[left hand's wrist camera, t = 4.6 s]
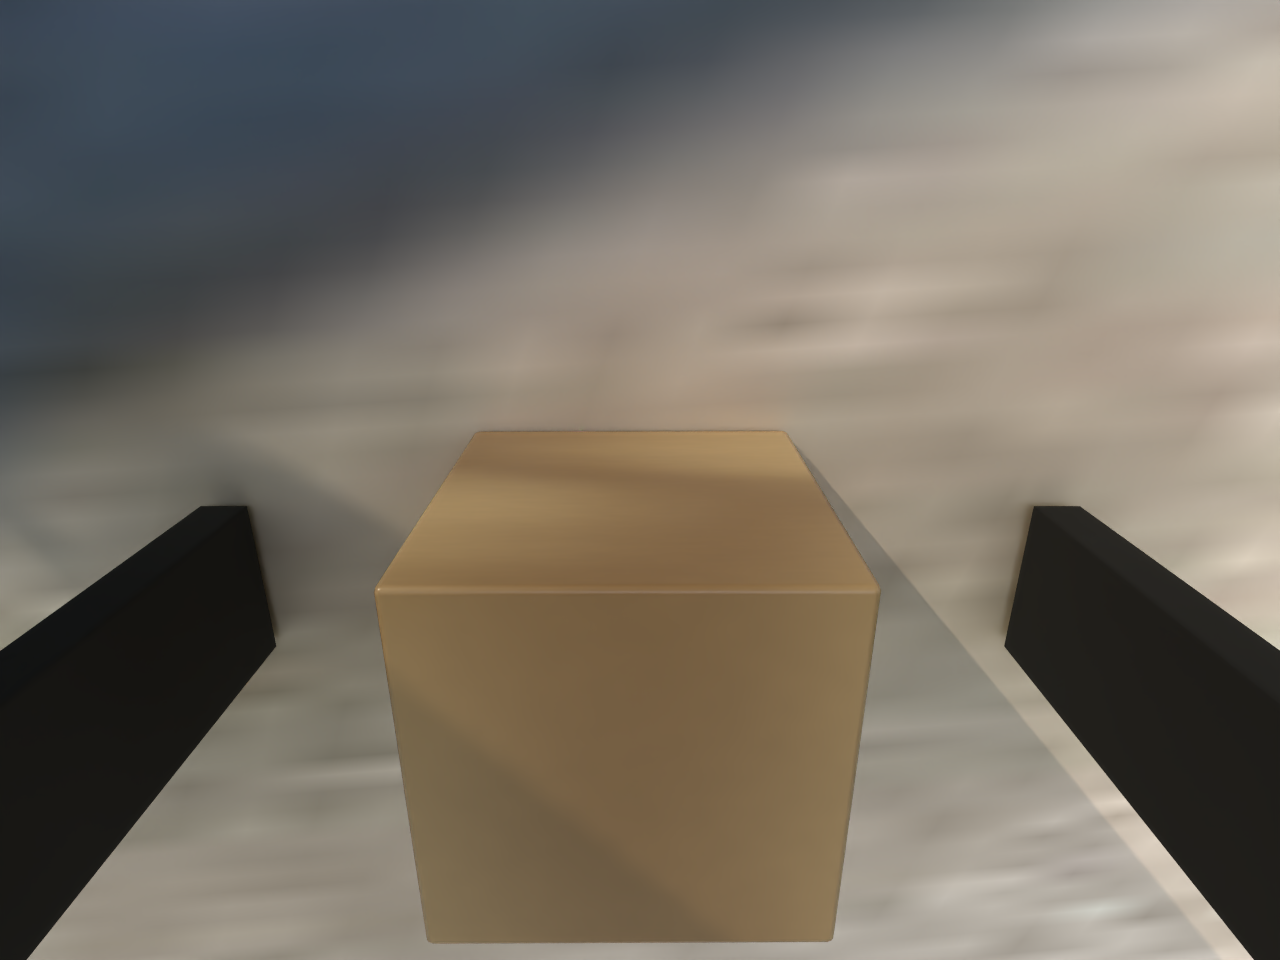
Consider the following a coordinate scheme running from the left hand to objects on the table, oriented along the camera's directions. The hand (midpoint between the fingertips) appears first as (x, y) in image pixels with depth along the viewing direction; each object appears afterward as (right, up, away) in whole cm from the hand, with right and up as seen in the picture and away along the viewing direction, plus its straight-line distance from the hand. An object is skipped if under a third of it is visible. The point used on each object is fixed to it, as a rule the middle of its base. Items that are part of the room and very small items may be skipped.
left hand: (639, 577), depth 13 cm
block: (0, 0, 0) cm, 0 cm away
